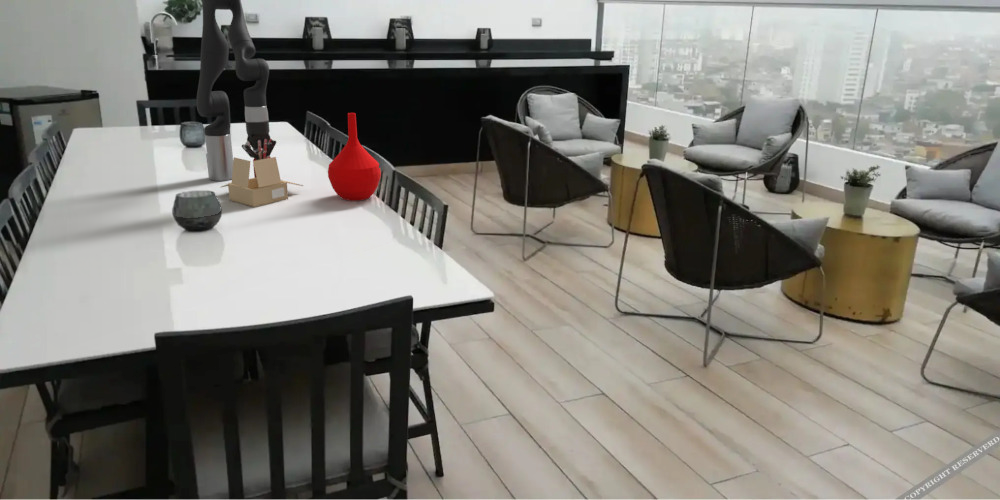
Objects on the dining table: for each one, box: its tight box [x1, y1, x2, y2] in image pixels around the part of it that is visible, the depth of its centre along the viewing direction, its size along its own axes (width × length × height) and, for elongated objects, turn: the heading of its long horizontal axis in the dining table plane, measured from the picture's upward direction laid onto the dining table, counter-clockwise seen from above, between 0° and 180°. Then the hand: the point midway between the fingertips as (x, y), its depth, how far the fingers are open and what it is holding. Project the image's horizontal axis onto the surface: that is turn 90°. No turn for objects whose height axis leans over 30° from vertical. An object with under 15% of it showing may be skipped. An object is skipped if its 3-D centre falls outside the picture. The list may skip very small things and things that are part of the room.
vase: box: [327, 112, 382, 202], centre depth 258 cm, size 18×18×30 cm
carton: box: [219, 177, 304, 208], centre depth 262 cm, size 23×23×6 cm
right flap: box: [231, 157, 251, 188], centre depth 249 cm, size 9×9×1 cm
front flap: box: [252, 156, 282, 187], centre depth 251 cm, size 9×9×1 cm
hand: (261, 169), depth 256 cm, fingers closed
